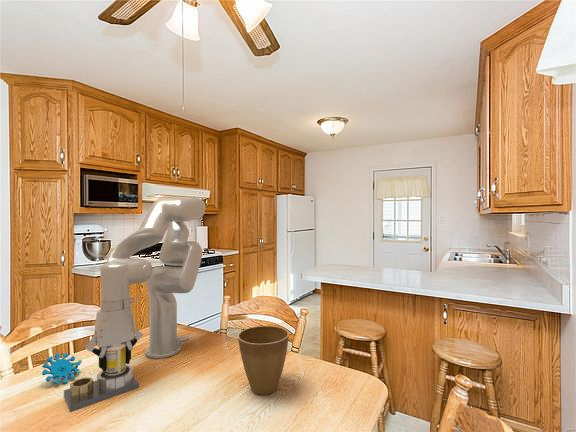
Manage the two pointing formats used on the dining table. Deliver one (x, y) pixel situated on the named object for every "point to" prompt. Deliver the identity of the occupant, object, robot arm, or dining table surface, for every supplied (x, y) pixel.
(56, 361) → the blue virus model
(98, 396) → the fitting plate
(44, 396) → the dining table surface
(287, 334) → the plant pot
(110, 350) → the supplement bottle
